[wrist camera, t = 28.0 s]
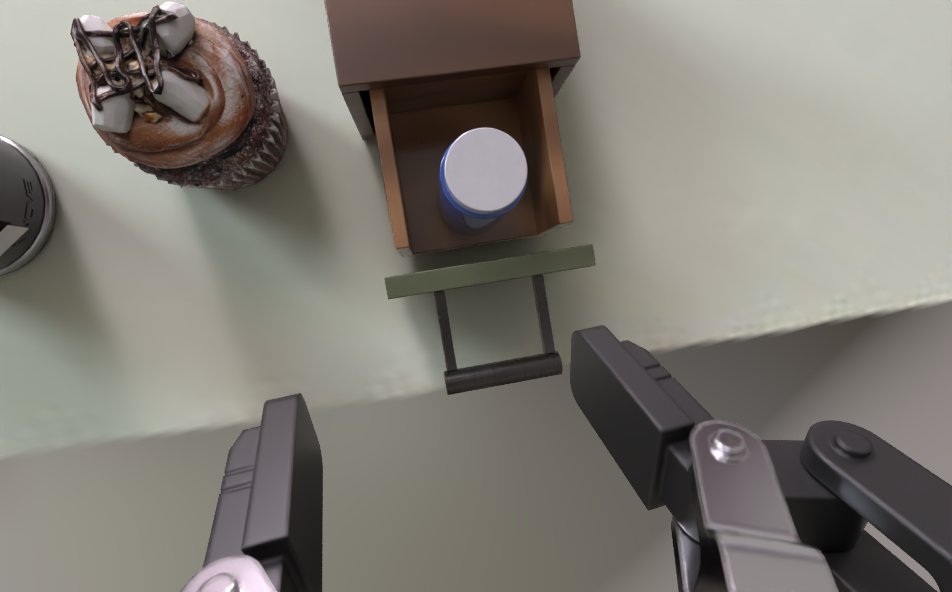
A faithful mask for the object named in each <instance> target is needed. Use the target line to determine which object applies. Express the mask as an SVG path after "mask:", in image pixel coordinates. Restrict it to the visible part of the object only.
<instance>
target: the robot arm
mask: <svg viewBox="0 0 952 592" xmlns="http://www.w3.org/2000/svg"><path fill="white" fill-rule="evenodd" d="M55 210H56V204H55V195H54V190H53V187H52V184H51V181H50V179H49V177H48V175H47V173H46V171H45V170H44V168H43V167H42V165H41V164H40V163H39V161H38V160H37V159H36V158H35V157H34V156H33V155H32V154H31V153H30V152H29V151H28V150H26V149H25V148H24V147H22V146H21V145H19V144H18V143H16V142H14V141H12V140H10V139H8V138H6V137H3V136H0V276H1V275H4V274H7V273H10V272H12V271H14V270H16V269H18V268H20V267H22V266H23V265H25V264H26V263H27V262H29V261H30V260H31V259H32V258H33V257H34V256H35V255H36V254H37V253H38V252H39V251H40V250H41V248H42V247H43V246H44V244H45V243H46V241H47V239H48V237H49V235H50V233H51V230H52V227H53V224H54V219H55ZM570 367H571V368H570V384H571V389H572V393H573V396H574V398H575V400H576V402H577V404H578V406H579V407H580V409H581V410H582V412H583V413H584V415H585V416H586V418H587V419H588V421H589V422H590V424H591V425H592V427H593V428H594V430H595V431H596V433H597V434H598V436H599V437H600V438H601V440H602V442H603V443H604V444H605V446H606V448H607V449H608V451H609V452H610V454H611V455H612V457H613V458H614V460H615V461H616V463H617V464H618V466H619V467H620V469H621V470H622V471H623V473H624V475H625V476H626V478H627V479H628V481H629V482H630V484H631V485H632V487H633V488H634V490H635V491H636V493H637V494H638V496H639V497H640V499H641V500H642V502H643V503H644V505H645V506H646V508H647V509H648V510H652V509H655V508H658V507H661V506H664V505H666V506H667V508H668V509H669V510H670V512H671V513H672V515H673V517H672V522H671V530H672V538H673V547H674V555H675V564H676V573H677V581H678V589H679V592H937V591H936V590H935V589H933V588H932V587H931V586H930V585H929V584H928V583H926V582H925V581H924V580H923V579H922V578H921V577H920V576H918V575H917V574H916V573H915V572H914V571H912V570H911V569H910V568H909V567H908V566H906V565H905V564H904V563H903V562H902V561H901V560H899V559H898V558H897V557H896V556H895V555H893V554H892V553H891V552H890V551H889V550H888V549H886V548H885V547H884V546H883V545H882V544H880V543H879V542H878V541H877V540H876V539H875V538H873V537H872V536H871V535H870V534H869V533H867V532H866V531H865V530H864V528H865V526H866V524H867V522H869V523H871V524H872V525H873V526H874V527H875V528H877V529H878V530H879V531H880V532H881V533H883V534H884V535H885V536H886V537H887V538H889V539H890V540H891V541H892V542H894V543H895V544H896V545H897V546H899V547H900V548H901V549H902V550H903V551H904V552H906V553H907V554H908V555H909V556H911V557H912V558H913V559H914V560H915V561H917V562H918V563H919V564H920V565H921V566H922V567H924V568H925V569H926V570H927V571H928V572H929V573H930V574H931V576H932V577H933V578H934V579H935V581H936V583H937V585H938V586H939V589H940V592H952V486H951V485H950V484H948V483H947V482H945V481H944V480H942V479H941V478H939V477H938V476H936V475H935V474H933V473H931V472H930V471H929V470H927V469H926V468H924V467H923V466H921V465H920V464H918V463H917V462H915V461H914V460H912V459H911V458H909V457H908V456H906V455H905V454H903V453H902V452H900V451H899V450H897V449H896V448H895V447H893V446H892V445H890V444H888V443H887V442H886V441H884V440H882V439H881V438H880V437H878V436H877V435H875V434H873V433H872V432H870V431H868V430H866V429H864V428H862V427H859V426H856V425H853V424H850V423H846V422H842V421H821V422H818V423H816V424H814V425H813V426H811V427H810V429H809V431H808V433H807V436H806V438H805V441H791V440H789V441H788V440H761V439H760V438H759V437H758V436H757V435H756V434H755V433H753V432H752V431H750V430H749V429H747V428H745V427H743V426H741V425H738V424H736V423H732V422H729V421H723V420H715V419H714V418H713V417H712V416H711V415H710V414H709V413H708V412H707V411H706V410H705V409H704V408H703V407H702V406H701V405H700V404H699V403H698V402H697V401H696V400H695V399H694V398H693V397H692V396H691V395H690V394H689V393H688V392H687V391H686V390H685V389H684V388H683V387H682V386H681V384H679V382H678V381H676V379H675V378H672V377H671V374H670V373H669V372H668V371H667V370H666V369H665V368H664V367H661V366H660V363H659V362H658V361H657V360H656V359H655V358H654V357H653V356H652V355H651V354H650V353H649V352H648V351H647V350H645V349H643V348H642V347H640V346H638V345H636V344H634V343H632V342H630V341H628V340H626V341H622V342H620V341H619V340H618V339H617V338H616V337H615V336H614V335H613V334H612V333H611V332H610V331H609V330H608V328H606V327H605V326H603V325H601V326H596V327H592V328H588V329H583V330H579V331H575V332H573V334H572V338H571V366H570ZM322 493H323V466H322V456H321V450H320V445H319V442H318V439H317V435H316V433H315V430H314V427H313V424H312V421H311V418H310V415H309V412H308V409H307V406H306V403H305V400H304V398H303V396H302V394H301V393H299V394H294V395H290V396H285V397H281V398H277V399H272V400H268V401H266V402H265V404H264V408H263V414H262V420H261V426H259V427H255V428H251V429H246V430H243V432H242V433H241V435H240V436H239V437H238V439H237V440H236V442H235V443H234V445H233V446H232V447H231V449H230V450H229V454H228V459H227V463H226V467H225V476H224V477H223V481H222V485H221V494H219V499H218V503H217V508H216V512H215V516H214V521H213V526H212V530H211V534H210V539H209V543H208V548H207V552H206V557H205V561H204V564H203V568H202V569H201V570H200V571H198V572H197V573H196V574H195V575H194V576H193V577H192V578H191V579H190V580H189V581H188V582H187V583H186V584H185V586H184V587H183V588H182V590H181V591H180V592H322V508H323V504H322V502H323V496H322V495H323V494H322Z"/></svg>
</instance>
